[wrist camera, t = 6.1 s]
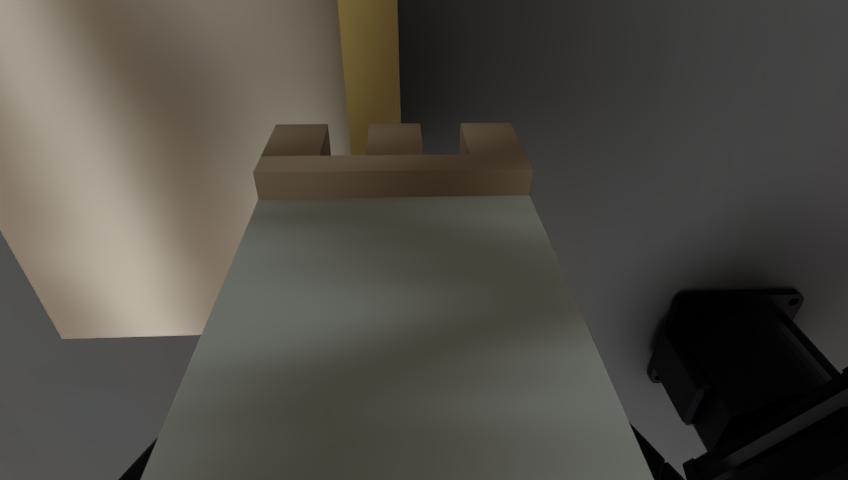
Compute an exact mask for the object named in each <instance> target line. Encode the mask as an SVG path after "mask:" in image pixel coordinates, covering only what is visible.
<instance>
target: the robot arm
mask: <svg viewBox="0 0 848 480" xmlns="http://www.w3.org/2000/svg"><path fill="white" fill-rule="evenodd" d="M686 301H687V302H686ZM803 301H804V297H803V295H802V294H801V293H800V292H799V291H797V290H795V289H780V290H744V291H708V292H684V293H681V294H679V295H678V296H677V297H676V298H675V300H674V302H673V305H672V308H671V311H670V313H669V316H668V319H667V321H666V324H665V327H664V329H663V331H662V333H661V335H660V338H659V341H658V343H657V346H656V349H655V351H654V354H653V357H652V360H651V364H650V367H649V370H648V376H649V378H650V380H651V382H653V383H662V384H663V386H664V388H665V390H666V392H667V394H668V396H669V397H670V399H671V401H672V403H673V405H674V407H675V409H676V411H677V412H678V414H679V416H680V418H681V420H682V421H683V422H684V423H685V424H686V425H693V426H694V428H695V430H696V432H697V434H698V435H699V437H700V439H701V441H702V443H703V444H704V446H705V448H706V450H707V452H706V453H704V454H703V455H701V456H699V457H698V458H696V459H693V458H692V459H690V460H688V461H686V462H685V463H683V468H684V472H685V475H686V479H687V480H848V367H846V368H845V369H843V370H842V371H843V373H841V374H840V373H839V372H838V371H837V369H836V368H835V367H834V366H833V365H832V364H831V363H830V362H829V361H828V360H827V358H826V357H825V356H824V355H823V354H822V353H821V352H820V351H819V350H818V349H817V347H816V346H815V345H814V344H813V343H812V342H811V341H810V340H809V339H808V338H807V336H806V335H805V334H804V333H803V332H802V331H801V330H800V329H799V328H798V327H797V325H796V324H795V323H794V322H793V319H794V317H795V315H796V313H797V312H798V310H799V308H800V306H801V305H802V303H803ZM685 302H686V303H685ZM629 424H630V423H629ZM630 426H631V428H632V430H633V433H634V435H635V437H636V440H637V442H638V444H639V446H640V449H641V451H642V453H643V456H644V458H645V460H646V462H647V465H648V467H649V469H650V472H651V474H652V476H653V478H654V480H685V479H684V478H683V477H682V476H681V475H680V474H679V473H678V472H677V471H676V470H675V469H674V468H673V467H672V466H671V465H670V464H669V463H668V462H665V459H664V458H663V457H662V456H661V455H660V454H659V453H658V452H657V451H656V450H655V449H654V448H653V446H652V445H651V444H650V443H649V442H648V441H647V440H646V439H645V438H644V437H643V436H642V435H641V434H640V433H639V432H638V431H637V430H636V429H635V428H634V427H633V426H632V425H631V424H630ZM158 437H159V436H158ZM158 437H157V438H156V440H155V441H154V442H153V443H152V444H151V445H150V446H149V447H148V448H147V449H146V450H145V451H144V452H143V454H142V455H141V456H140V457H139V458H138V459H137V460H136V461H135V462H134V463H133V464H132V465H131V467H130V468H129V469H128V470H127V471H126V472H125V473H124V474H123V475H122V476H121V477H120V478H119V480H140V479H141V477H142V475H143V472H144V470H145V467H146V465H147V463H148V460H149V458H150V456H151V453H152V451H153V448H154V446H155V444H156V441H157V439H158ZM664 462H665V463H664Z"/></svg>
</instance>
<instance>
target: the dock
mask: <svg viewBox="0 0 848 480" xmlns="http://www.w3.org/2000/svg"><path fill="white" fill-rule="evenodd" d="M400 123H401V108H400V72H399V35H398V0H0V231H1V232H2V234H3V236H4V238H5V239H6V241H7V243H8V245H9V246H10V248H11V250H12V252H13V253H14V255H15V257H16V259H17V260H18V262H19V264H20V266H21V267H22V269H23V271H24V273H25V274H26V276H27V278H28V280H29V281H30V283H31V285H32V287H33V288H34V290H35V292H36V294H37V295H38V297H39V299H40V301H41V302H42V304H43V306H44V308H45V310H46V311H47V313H48V315H49V317H50V318H51V320H52V322H53V324H54V325H55V327H56V329H57V331H58V332H59V334H60V336H61V338H62V339H77V338H111V337H145V336H179V335H201V334H202V332H203V330H204V327H205V325H206V322H207V320H208V318H209V315H210V313H211V311H212V308H213V306H214V303H215V301H216V299H217V296H218V294H219V292H220V289H221V287H222V284H223V282H224V280H225V277H226V275H227V273H228V270H229V268H230V265H231V263H232V261H233V258H234V256H235V254H236V251H237V249H238V246H239V244H240V242H241V239H242V237H243V235H244V232H245V230H246V227H247V225H248V223H249V220H250V218H251V216H252V213H253V211H254V208H255V206H256V204H257V201H258V195H257V190H256V185H255V180H254V175H253V171H254V169H255V167H256V165H257V163H258V161H259V159H260V157H261V155H262V153H263V151H264V148H265V146H266V144H267V142H268V140H269V138H270V136H271V134H272V132H273V130H274V128H275V125H276V124H328V130H329V140H330V150H331V156H335V155H366V151H367V140H368V130H369V124H400Z"/></svg>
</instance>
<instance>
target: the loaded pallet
mask: <svg viewBox="0 0 848 480" xmlns="http://www.w3.org/2000/svg"><path fill="white" fill-rule="evenodd" d="M253 175H254V180H255V185H256V190H257V195H258V201H257V204H256V206H255V208H254V211H253V213H252V216H251V218H250V220H249V223H248V225H247V227H246V230H245V232H244V235H243V237H242V239H241V242H240V244H239V246H238V249H237V251H236V254H235V256H234V258H233V261H232V263H231V265H230V268H229V270H228V273H227V275H226V277H225V280H224V282H223V284H222V287H221V289H220V292H219V294H218V296H217V299H216V301H215V303H214V306H213V308H212V311H211V313H210V315H209V318H208V320H207V322H206V325H205V327H204V330H203V332H202V334H201V337H200V339H199V341H198V344H197V346H196V349H195V351H194V353H193V356H192V358H191V361H190V363H189V365H188V368H187V370H186V372H185V375H184V377H183V380H182V382H181V384H180V387H179V389H178V391H177V394H176V396H175V399H174V401H173V403H172V406H171V408H170V410H169V413H168V415H167V418H166V420H165V422H164V425H163V427H162V429H161V432H160V434H159V437H158V439H157V441H156V444H155V446H154V448H153V451H152V453H151V456H150V458H149V460H148V463H147V465H146V467H145V470H144V472H143V475H142V477H141V479H140V480H654V478H653V476H652V474H651V472H650V469H649V467H648V465H647V462H646V460H645V458H644V456H643V453H642V451H641V449H640V446H639V444H638V442H637V440H636V437H635V435H634V433H633V430H632V428H631V426H630V424H629V421H628V419H627V417H626V414H625V412H624V410H623V408H622V405H621V403H620V401H619V399H618V396H617V394H616V392H615V389H614V387H613V385H612V383H611V380H610V378H609V376H608V373H607V371H606V369H605V367H604V364H603V362H602V360H601V357H600V355H599V353H598V351H597V348H596V346H595V344H594V341H593V339H592V337H591V335H590V332H589V330H588V328H587V325H586V323H585V321H584V319H583V316H582V314H581V312H580V309H579V307H578V305H577V303H576V300H575V298H574V296H573V293H572V291H571V289H570V287H569V284H568V282H567V280H566V277H565V275H564V273H563V271H562V268H561V266H560V264H559V261H558V259H557V257H556V255H555V252H554V250H553V248H552V245H551V243H550V241H549V239H548V236H547V234H546V232H545V229H544V227H543V225H542V223H541V220H540V218H539V216H538V213H537V211H536V209H535V207H534V204H533V202H532V200H531V198H530V189H531V182H532V176H533V167H532V165H531V163H530V161H529V159H528V157H527V155H526V153H525V151H524V149H523V147H522V145H521V143H520V141H519V139H518V137H517V135H516V133H515V131H514V128H513V126H512V124H511V123H460V141H459V154H427V155H424V153H423V144H422V136H421V127H420V123H400V124H369V130H368V140H367V151H366V155H335V156H331V150H330V140H329V130H328V124H276V125H275V128H274V130H273V132H272V134H271V136H270V138H269V140H268V142H267V144H266V146H265V148H264V151H263V153H262V155H261V157H260V159H259V161H258V163H257V165H256V167H255V169H254V171H253Z"/></svg>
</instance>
